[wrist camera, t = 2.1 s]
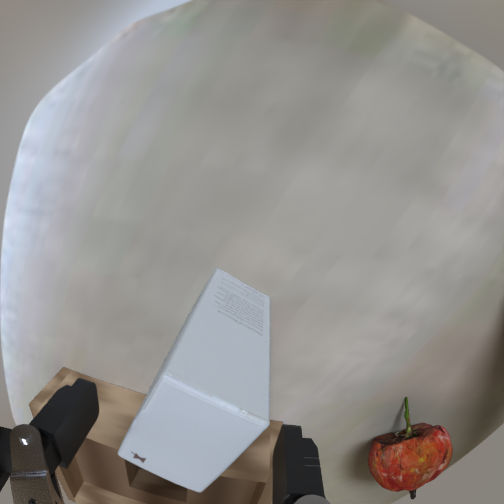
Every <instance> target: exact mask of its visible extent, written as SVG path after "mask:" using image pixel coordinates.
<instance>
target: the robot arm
mask: <svg viewBox="0 0 504 504" xmlns="http://www.w3.org/2000/svg"><path fill="white" fill-rule="evenodd" d="M98 415H99V401H98V394H97V387H96V384H95V383H94V382H91V381H88V380H85V379H82V378H78V379H77V380H76V381H75V382H74V384H73V385H72V386H69V385H65V386H64V387H62V388H60V389H58V390H57V391H56V392H55V393H54V395H53V396H52V398H50V399H49V401H48V402H47V404H45V405H44V407H43V408H42V409H41V410H40V411H39V413H38V414H37V415H36V416H35V417H34V419H33V420H32V421H31V422H30V423H29V425H28V424H21V425H18V426H16V427H14V428H13V429H9V428H4V427H0V491H1V490H2V488H3V486H4V485H5V483H6V481H7V480H8V478H9V476H10V484H11V490H12V496H13V502H14V504H64V501H63V497H62V494H61V490H60V487H59V483H58V479H57V475H56V472H55V470H56V469H57V467H58V466H60V467H63V468H65V469H67V468H68V467H69V465H70V463H71V461H72V460H73V458H74V456H75V455H76V453H77V451H78V450H79V448H80V446H81V445H82V443H83V442H84V440H85V438H86V437H87V435H88V433H89V432H90V430H91V428H92V427H93V425H94V424H95V422H96V420H97V418H98ZM11 473H12V474H11ZM272 504H330V503H329V501H328V500H326V498H325V495H324V489H323V482H322V475H321V468H320V461H319V455H318V448H317V446H316V445H315V443H314V442H313V440H312V439H311V438H302V430H301V426H296V425H285V424H283V425H282V426H281V429H280V432H279V435H278V438H277V441H276V444H275V447H274V451H273V494H272Z"/></svg>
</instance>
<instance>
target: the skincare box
mask: <svg viewBox="0 0 504 504" xmlns="http://www.w3.org/2000/svg"><path fill="white" fill-rule="evenodd" d="M269 424H270V298H269V297H268V296H267V295H265V294H263V293H261V292H259V291H257V290H255V289H254V288H252V287H250V286H248V285H246V284H245V283H243V282H241V281H240V280H238V279H236V278H234V277H233V276H231V275H229V274H228V273H226V272H224V271H222V270H221V269H219V268H217V269H215V271H214V273H213V274H212V276H211V277H210V279H209V281H208V282H207V284H206V286H205V287H204V289H203V291H202V292H201V294H200V296H199V297H198V299H197V301H196V303H195V305H194V306H193V308H192V310H191V312H190V314H189V315H188V317H187V319H186V321H185V323H184V325H183V327H182V328H181V330H180V332H179V334H178V336H177V338H176V340H175V342H174V343H173V345H172V347H171V349H170V351H169V353H168V355H167V357H166V359H165V361H164V362H163V364H162V366H161V368H160V370H159V372H158V374H157V376H156V378H155V380H154V382H153V383H152V385H151V387H150V389H149V391H148V393H147V395H146V397H145V399H144V400H143V402H142V404H141V406H140V408H139V410H138V412H137V414H136V416H135V418H134V419H133V421H132V423H131V425H130V427H129V429H128V431H127V433H126V435H125V437H124V439H123V441H122V443H121V445H120V448H119V450H118V455H119V456H120V457H122V458H124V459H125V460H127V461H129V462H131V463H133V464H135V465H137V466H139V467H141V468H143V469H145V470H147V471H149V472H151V473H153V474H155V475H158V476H160V477H162V478H164V479H166V480H169V481H171V482H173V483H175V484H178V485H180V486H183V487H185V488H188V489H191V490H194V491H196V492H202V491H203V490H204V489H206V488H207V487H208V486H209V485H210V484H211V483H212V482H213V481H214V480H216V479H217V478H218V477H219V476H220V475H221V474H222V473H223V472H224V471H225V470H226V469H227V468H228V467H229V466H230V465H231V464H232V463H233V462H234V461H235V460H236V459H237V458H238V457H239V456H240V455H241V454H242V453H243V452H244V451H245V450H246V449H247V448H248V447H249V446H250V445H251V444H252V443H253V442H254V441H255V440H256V439H257V438H258V436H259V435H260V434H261V433H262V432H263V431H264V430H265V429H266V428H268V426H269Z"/></svg>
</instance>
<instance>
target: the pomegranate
mask: <svg viewBox="0 0 504 504" xmlns="http://www.w3.org/2000/svg"><path fill="white" fill-rule="evenodd" d="M405 409H406V411H405V415H404V417H405V419H406V422H407V429H405V430H403V431H399V432H397V433H388V434H385V435H382V436H378V437H377V438H376V439H375V440H374V442H373V443H372V447H371V450H370V452H369V457H368V462H369V464H368V465H369V468H370V472H371V474H372V475H373V477H374V478H375V480H376V481H377V482H378V483H379V484H380V485H381V486H382V487H383V488H385V489H388V490H391V491H396V492H398V491H401V490H408V491H409V492H410V495H411V496H410V497H411V499H414V498H415V497H416V489H417V488H419V487H421V486H423V485H424V484H425V483H428V482H430V481H432V480H434V479H435V478H436V477H437V476H438V475H439V474H440V473H441V472H442V471H443V470H444V469H445V468H446V467H447V466H448V465H449V462H450V460H451V457H452V450H453V448H452V444H451V439H450V436H449V434H448V432H447V430H446V429H445V428H444V427H442V426H440V425H436V426H432V425H429V424H426V423H420V424H416V425H413V426H411V425H410V419H409V408H408V399H407V397H405Z"/></svg>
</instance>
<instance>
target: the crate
mask: <svg viewBox="0 0 504 504" xmlns="http://www.w3.org/2000/svg"><path fill="white" fill-rule="evenodd" d="M78 378H82V379H85V380H88V381H91V382H94V383H95V384H96V387H97V394H98V401H99V415H98V418H97V420H96V422H95V424H94V425H93V427H92V428H91V430H90V432H89V433H88V435H87V437H86V438H85V440H84V442H83V443H82V445H81V446H80V448H79V450H78V451H77V453H76V455H75V456H74V458H73V460H72V461H71V463H70V465H69V467H68V468H67V469H65V468H63V467H60V466H58V467H57V469H56V470H55V472H56V475H57V477H58V479H59V481H60V483H61V485H62V487H63V489H64V491H65V493H66V495H67V497H68V499H69V500H72V501H74V502H76V503H78V504H271V502H272V494H273V451H274V447H275V444H276V441H277V438H278V435H279V432H280V429H281V426H282V425H283V422H280V421H272V420H270V424H269V426H268V428H266V429H265V430H264V431H263V432H262V433H261V434H260V435H259V436H258V438H257V439H256V440H255V441H254V442H253V443H252V444H251V445H250V446H249V447H248V448H247V449H246V450H245V451H244V452H243V453H242V454H241V455H240V456H239V457H238V458H237V459H236V460H235V461H234V462H233V463H232V464H231V465H230V466H229V467H228V468H227V469H226V470H225V471H224V472H223V473H222V474H221V475H220V476H219V477H218V478H217V479H216V480H214V481H213V482H212V483H211V484H210V485H209V486H208V487H207V488H206V489H204V490H203V491H202V492H196V491H194V490H191V489H188V488H185V487H183V486H180V485H178V484H175V483H173V482H171V481H169V480H166V479H164V478H162V477H160V476H158V475H155V474H153V473H151V472H149V471H147V470H145V469H142V468H138V466H137V465H135V464H133V463H131V462H129V461H127V460H125V459H124V458H122V457H120V456H119V455H118V450H119V448H120V445H121V443H122V441H123V439H124V437H125V435H126V433H127V431H128V429H129V427H130V425H131V423H132V421H133V419H134V418H135V416H136V414H137V412H138V410H139V408H140V406H141V404H142V402H143V400H144V399H145V397H146V395H145V394H142V393H138V392H135V391H131V390H128V389H125V388H122V387H118V386H115V385H112V384H109V383H106V382H103V381H100V380H97V379H94V378H91V377H89V376H86V375H83V374H80V373H78V372H75V371H72V370H70V369H67V368H65V367H63V368H62V369H61V370H60V371H59V372H58V373H57V374H56V375H55V376H54V377H53V379H52V380H51V381H50V382H49V383H48V384H47V385H46V386H45V387H44V388H43V389H42V390H41V391H40V392H39V394H38V395H37V396H36V397H35V398H34V399H33V400H32V401H31V402H30V403H29V406H30V409H31V412H32V415H33V418H34V417H35V416H36V415H37V414H38V413H39V411H40V410H41V409H42V408H43V407H44V405H45V404H47V402H48V401H49V399H50V398H52V396H53V395H54V393H55V392H56V391H57V390H58V389H60V388H62V387H64V386H65V385H69V386H72V385H73V384H74V382H75V381H76V380H77V379H78Z"/></svg>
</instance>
